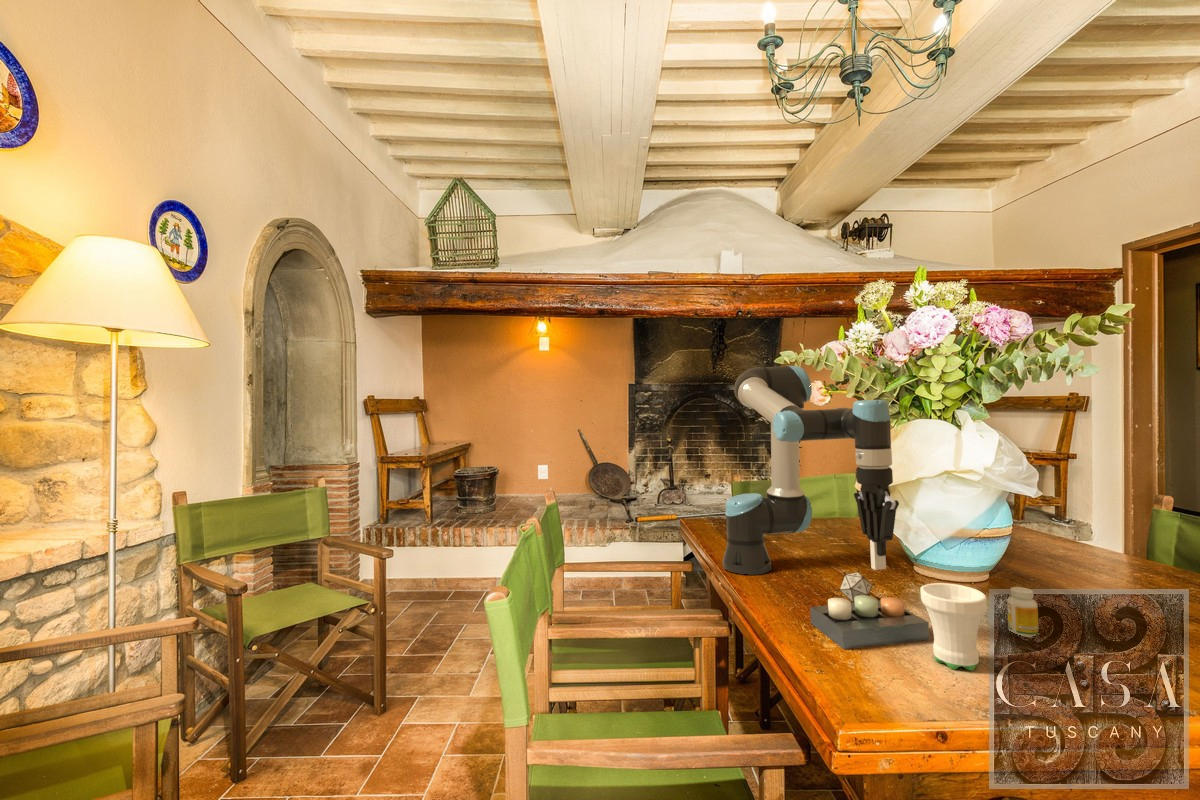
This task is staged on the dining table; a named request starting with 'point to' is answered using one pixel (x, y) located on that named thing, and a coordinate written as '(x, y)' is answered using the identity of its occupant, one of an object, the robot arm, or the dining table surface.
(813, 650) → the dining table surface
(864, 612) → the sage button
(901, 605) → the terracotta button
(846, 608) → the ivory button
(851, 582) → the game die
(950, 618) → the cup
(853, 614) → the panel
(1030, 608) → the supplement bottle
